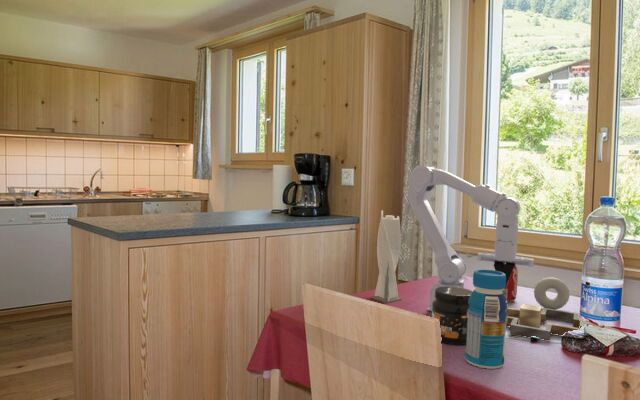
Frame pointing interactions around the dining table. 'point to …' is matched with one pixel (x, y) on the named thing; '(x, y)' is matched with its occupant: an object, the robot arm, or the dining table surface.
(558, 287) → the donut
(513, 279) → the soda can
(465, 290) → the supplement container
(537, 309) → the block
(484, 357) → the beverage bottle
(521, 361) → the dining table surface
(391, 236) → the skyscraper
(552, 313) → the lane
